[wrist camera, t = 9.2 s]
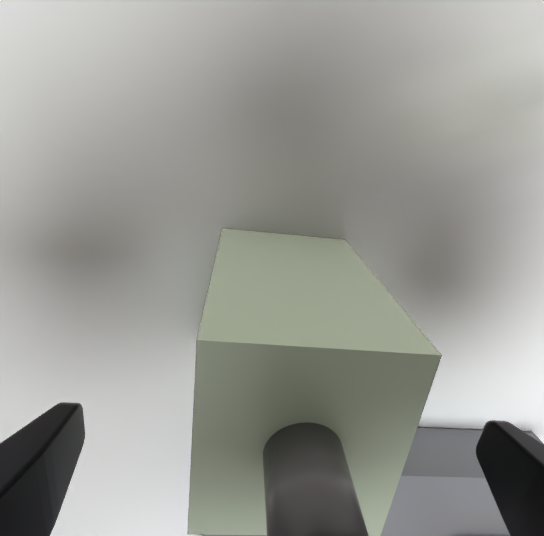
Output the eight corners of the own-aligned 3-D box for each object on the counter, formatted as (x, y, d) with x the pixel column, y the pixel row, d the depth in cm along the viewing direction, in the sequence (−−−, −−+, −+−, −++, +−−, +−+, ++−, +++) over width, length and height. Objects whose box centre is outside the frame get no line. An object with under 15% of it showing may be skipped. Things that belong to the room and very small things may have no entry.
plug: (214, 349, 14) (170, 658, 6) (222, 228, 13) (175, 433, 4) (322, 355, 15) (417, 653, 7) (345, 239, 13) (517, 446, 5)
